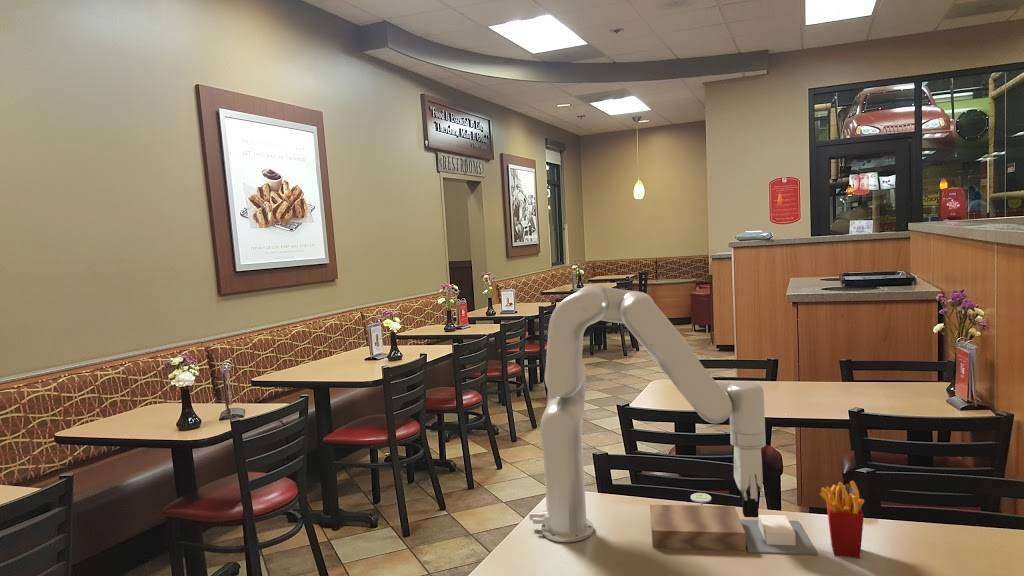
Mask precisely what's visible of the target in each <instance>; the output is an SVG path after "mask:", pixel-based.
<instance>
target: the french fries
mask: <svg viewBox="0 0 1024 576" xmlns="http://www.w3.org/2000/svg"><path fill="white" fill-rule="evenodd" d="M849 483H850V487H851V488H852V491H853V493H854V494H853V493H851V492H848V491H847V488H846V485H844V483H842V482H840V481H839V482H838V484H837V485H836V484H833V485H832V486H831V487H829V486H825V488H824V487H823V486H822V487H821V489H820V491H821V492H819V495H820V496H821V497H822V499H823V500H824V501H825V503H826V510H827V517H828V518H827V519H828V525H829V527H828V528H829V537H830V545H831V548H832V553H833V555H834V557H843V558H852V559H861V554H862V553H861V550H862V539H863V529H864V518H865V517H864V512H863V510H862V506H863V504H865V499H863V498H860V491H859V488H858V487H857V485H856V483H855V481H854V480H851V481H849ZM834 493H835V495H834ZM840 493H841V500H840Z"/></svg>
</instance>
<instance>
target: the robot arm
mask: <svg viewBox="0 0 1024 576" xmlns="http://www.w3.org/2000/svg"><path fill="white" fill-rule="evenodd" d="M551 313H552V314H551V315H550V318H549V321H548V322H549V323H548V328H547V329H548V331H547V342H546V357H545V369H544V370H545V372H544V383H545V386H546V388H547V404H546V408H545V410H543V411H544V412H543V413H542V416H541V419H540V427H539V428H540V431H539V432H540V438H541V446H542V454H543V455H542V457H543V471H544V484H545V502H546V503H545V505H546V509H545V511H544V510H543V511H542V512H537V511H530V512H529V521H532V524H533V525H541V528H540V529H541V534H542V536H543V537H545V538H546V539H548V540H550V541H554V542H557V543H574V542H579V541H580V542H581V541H583V540H585V539H588V538H590V536H592V534H593V533H594V523H593V522H592V521H591V520H590V519H588V518H587V504H586V488H585V487H586V485H585V470H584V469H585V467H584V454H583V453H584V452H583V442H582V439H583V438H582V426H583V420H584V416H585V402H586V401H585V400H586V399H585V398H586V378H587V376H586V374H587V369H586V365H585V362H584V360H583V349H584V333H585V331H586V329H587V328H588V327H589V326H591V325H593V324H595V323H597V322H599V321H604V322H609V323H617V324H624V326H625V327H626V328H627V329H628V331H629V332H630V333H631V334H632V335H633V336H634V338H635V339H636V340H637V341H638V342H639V344H640V345H641V346H642V347H643V349H645V351H646V352H647V353H648V354H649V355H650V357H651V358H652V359H653V360H654V362H655V363H656V365H658V368H659V369H660V370H661V372H663V374H665V375H666V377H667V378H668V379H669V380H670V382H671V383H672V384H673V385H674V386H675V387H676V389H677V390H678V391H679V393H680V394H681V395H682V396H683V398H684V399H685V400H686V402H688V404H689V405H690V406H691V407H692V408H693V410H695V412H696V413H697V415H698V416H699V417H700V418H701V419H702V420H704V421H706V422H708V423H711V424H715V425H716V424H720V423H723V422H725V421H727V420H728V419H729V434H730V436H729V437H730V445H732V446H733V479H734V481H735V484H736V486H737V489H738V490H739V491H740V492H741V495H742V496H741V503H742V504H741V505H742V506H741V507H742V514H743V517H744V518H758V516H759V515H760V514H759V500H758V499H759V498H758V493H759V492H762V491H763V486H764V484H763V482H764V480H763V460H762V448H765V446H766V445H767V444H766V418H765V417H766V416H765V393H764V392H765V391H764V388H763V386H761V385H760V384H759V383H755V382H749V381H748V382H747V381H746V382H745V381H744V382H743V381H742V382H740V381H739V382H735V383H732V382H723V381H722V382H721V381H716V380H715V379H714V378H713V377H712V375H711V374H710V373H709V371H707V370H706V368H705V367H704V366H703V364H702V363H701V361H700V360H699V358H698V357H697V355H696V353H695V352H694V350H693V348H692V346H691V345H690V344H689V343H688V341H687V340H686V338H685V337H684V336H683V335H682V334H681V333H680V331H679V330H678V329H677V328H676V327H675V325H673V323H672V322H671V320H669V319H668V317H667V316H666V314H664V312H662V310H661V309H660V308H659V307H658V305H657V304H656V303H655V301H654V299H653V298H652V296H651V295H649V294H647V293H645V292H642V291H639V290H638V291H637V290H629V289H628V290H627V289H622V288H621V289H620V288H614V287H608V286H607V287H606V286H602V285H601V286H600V285H593V284H592V285H587V286H584V287H583V286H582V287H581V288H580V289H579V290H577V291H575V292H574V293H572V294H570V295H568V296H567V297H565V298H564V299H563V300H561V301H560V302H559V303H558V304H557V305H556V306H555V308H554V310H553V311H552V312H551Z"/></svg>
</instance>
